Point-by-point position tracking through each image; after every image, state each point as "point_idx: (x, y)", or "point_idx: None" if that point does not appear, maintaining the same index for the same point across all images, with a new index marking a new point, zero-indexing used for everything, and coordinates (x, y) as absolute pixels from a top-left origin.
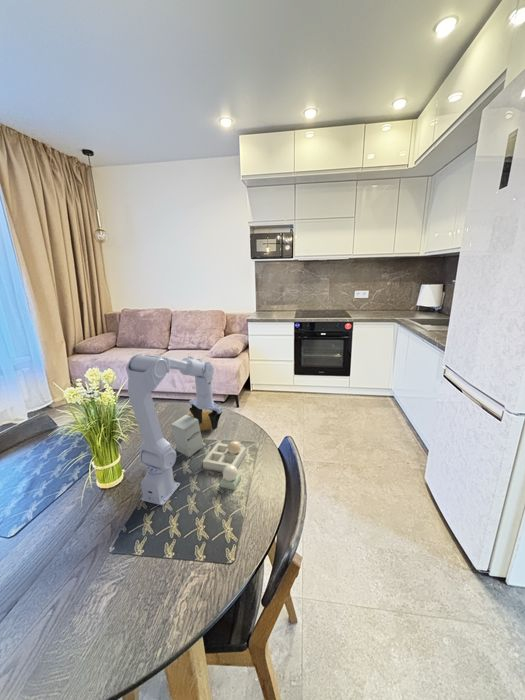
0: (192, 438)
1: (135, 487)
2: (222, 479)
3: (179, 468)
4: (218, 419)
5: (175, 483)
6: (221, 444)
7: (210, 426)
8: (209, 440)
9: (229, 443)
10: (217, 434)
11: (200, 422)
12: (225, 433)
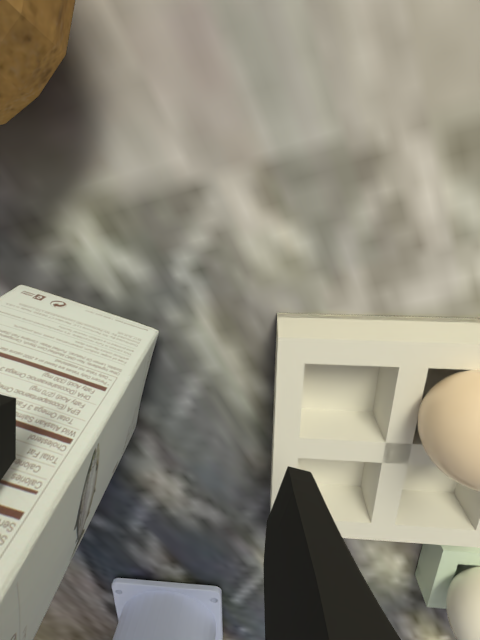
0: (91, 503)
1: (54, 610)
2: (435, 595)
3: (143, 504)
4: (376, 623)
5: (199, 595)
6: (324, 351)
7: (49, 64)
8: (146, 206)
9: (460, 463)
10: (162, 79)
11: (2, 433)
12: (233, 29)
